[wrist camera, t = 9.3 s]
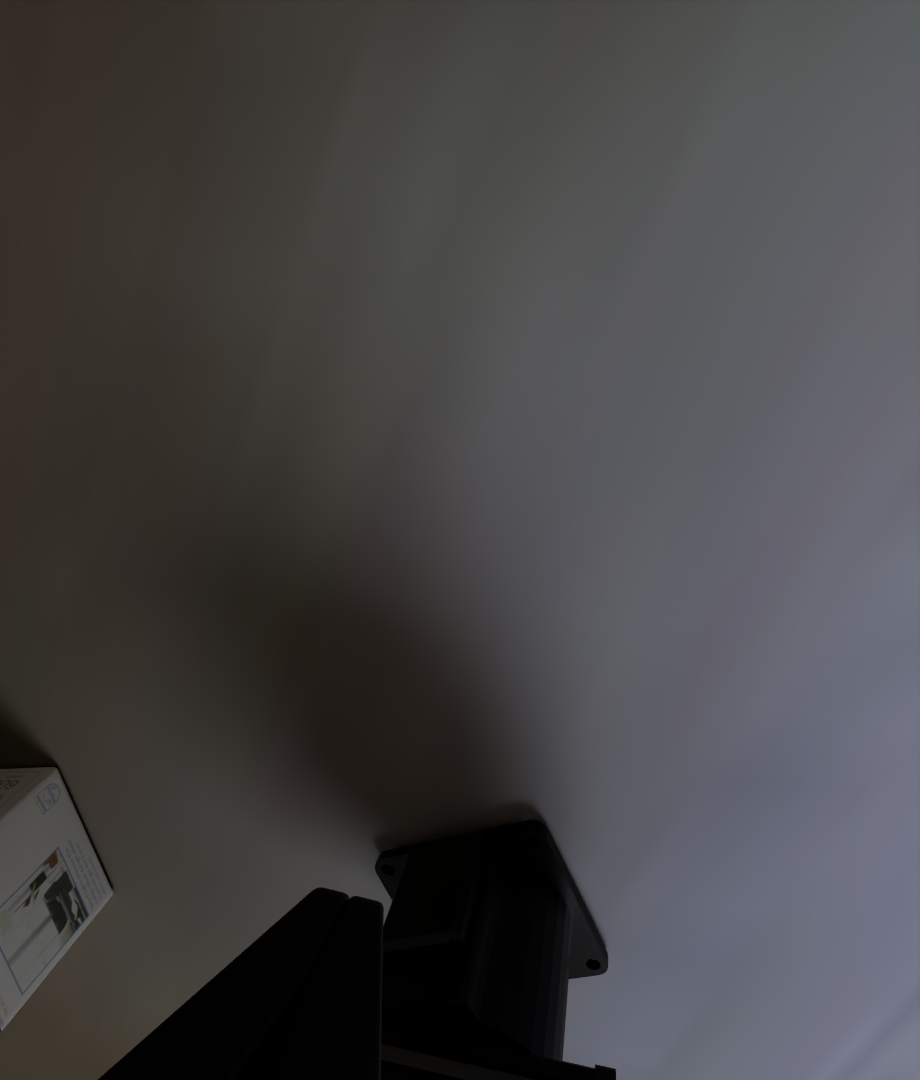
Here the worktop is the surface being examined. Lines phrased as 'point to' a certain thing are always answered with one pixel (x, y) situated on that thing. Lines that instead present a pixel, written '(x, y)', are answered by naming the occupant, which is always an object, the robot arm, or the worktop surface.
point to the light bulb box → (41, 881)
